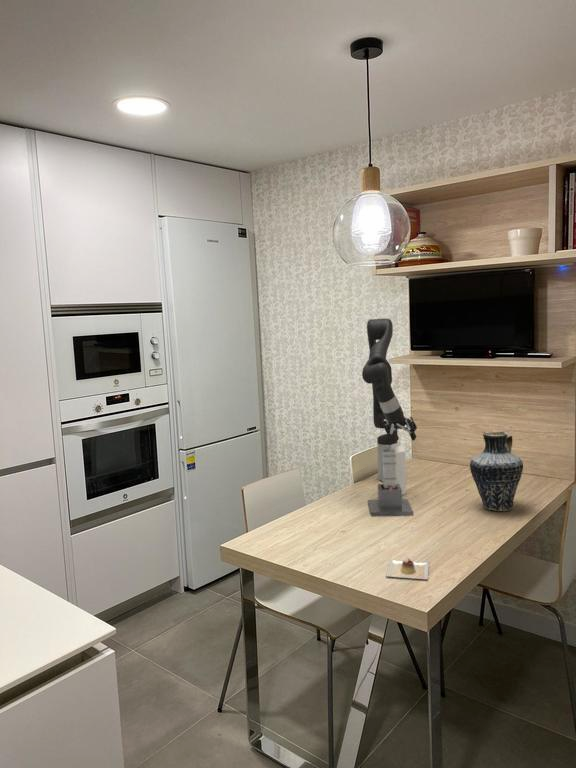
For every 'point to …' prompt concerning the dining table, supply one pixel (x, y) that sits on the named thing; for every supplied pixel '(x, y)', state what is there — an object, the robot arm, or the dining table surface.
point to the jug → (497, 471)
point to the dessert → (408, 568)
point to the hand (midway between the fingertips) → (405, 439)
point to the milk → (400, 466)
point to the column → (389, 469)
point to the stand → (389, 503)
